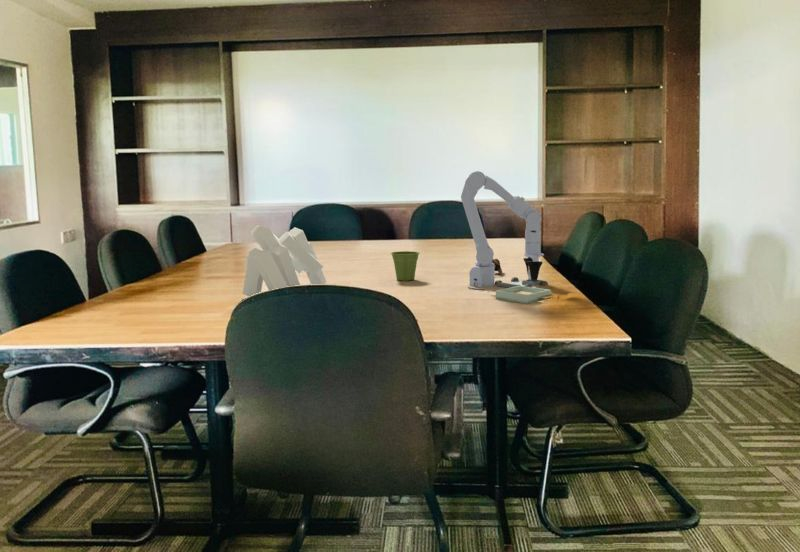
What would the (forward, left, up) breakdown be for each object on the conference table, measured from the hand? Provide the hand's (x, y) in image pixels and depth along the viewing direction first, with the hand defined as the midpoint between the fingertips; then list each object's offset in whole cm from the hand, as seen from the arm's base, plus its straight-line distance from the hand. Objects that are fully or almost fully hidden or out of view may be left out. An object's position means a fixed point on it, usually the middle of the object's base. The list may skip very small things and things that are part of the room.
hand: (532, 278), depth 279 cm
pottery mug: (+19, +35, -4) cm, 40 cm away
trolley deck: (-3, +3, -4) cm, 6 cm away
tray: (-19, -10, -4) cm, 22 cm away
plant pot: (-16, +52, -4) cm, 55 cm away
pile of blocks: (-71, +59, -4) cm, 92 cm away
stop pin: (0, 0, -2) cm, 2 cm away
